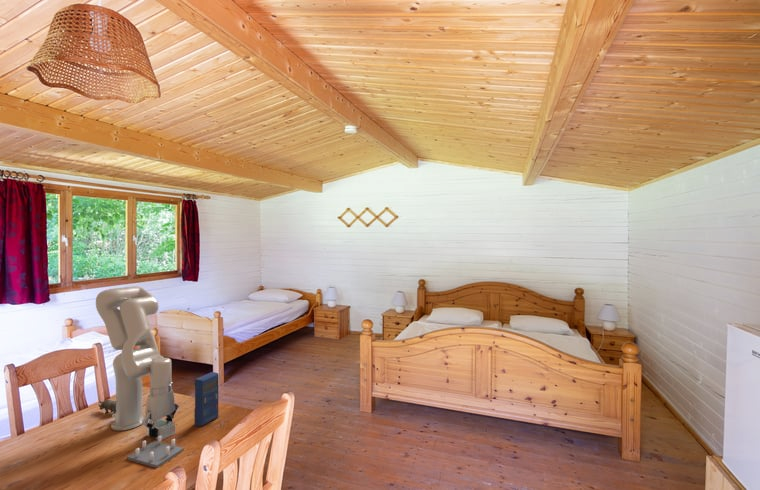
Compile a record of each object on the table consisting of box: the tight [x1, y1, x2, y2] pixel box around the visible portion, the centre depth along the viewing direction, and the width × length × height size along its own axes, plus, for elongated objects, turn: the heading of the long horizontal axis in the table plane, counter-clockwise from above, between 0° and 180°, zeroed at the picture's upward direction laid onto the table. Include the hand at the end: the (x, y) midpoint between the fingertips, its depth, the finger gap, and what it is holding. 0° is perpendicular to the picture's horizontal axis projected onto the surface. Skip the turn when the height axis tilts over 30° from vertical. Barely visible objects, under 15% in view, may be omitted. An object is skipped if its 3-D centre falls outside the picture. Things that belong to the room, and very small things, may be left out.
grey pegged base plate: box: [126, 436, 185, 469], centre depth 131 cm, size 15×11×4 cm
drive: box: [146, 417, 176, 442], centre depth 145 cm, size 9×6×5 cm, turn 63°
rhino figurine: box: [97, 398, 116, 416], centre depth 164 cm, size 4×14×6 cm, turn 72°
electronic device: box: [193, 371, 220, 427], centre depth 156 cm, size 10×5×20 cm, turn 159°
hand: (161, 432), depth 145 cm, fingers closed on drive, 6 cm apart
